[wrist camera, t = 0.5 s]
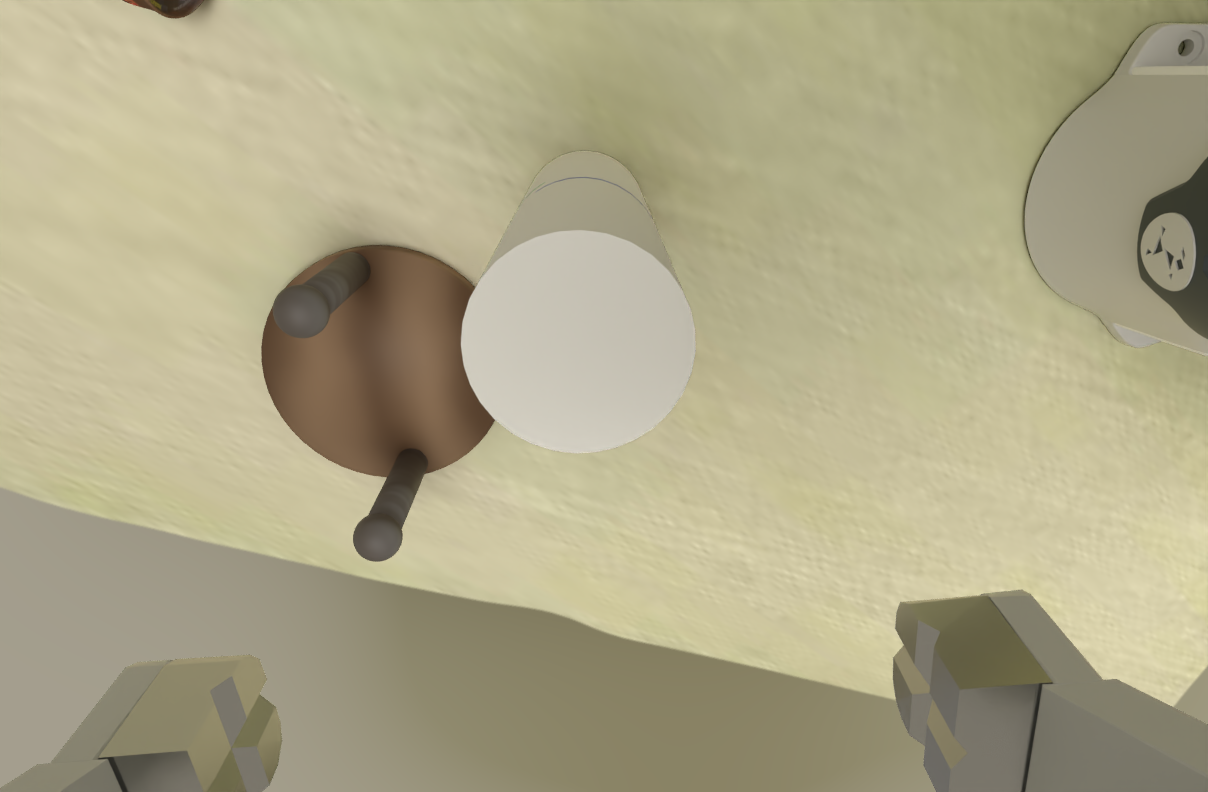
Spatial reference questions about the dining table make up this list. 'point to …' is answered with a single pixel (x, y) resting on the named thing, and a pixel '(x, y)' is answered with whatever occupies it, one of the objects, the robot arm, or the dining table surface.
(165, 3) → the tin
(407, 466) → the roll holder
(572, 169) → the cylindrical container
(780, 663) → the dining table surface
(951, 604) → the robot arm
